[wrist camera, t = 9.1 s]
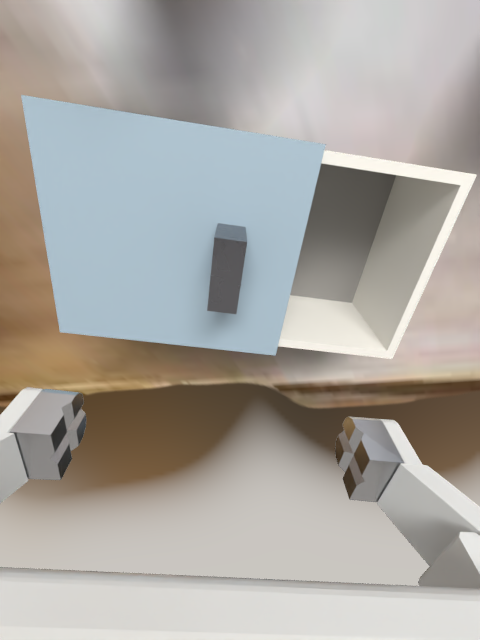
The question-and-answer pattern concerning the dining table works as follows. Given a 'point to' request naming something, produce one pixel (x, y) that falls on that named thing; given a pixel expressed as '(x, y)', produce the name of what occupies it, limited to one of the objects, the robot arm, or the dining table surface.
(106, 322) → the lid
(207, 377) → the dining table surface
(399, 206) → the carton
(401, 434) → the robot arm
